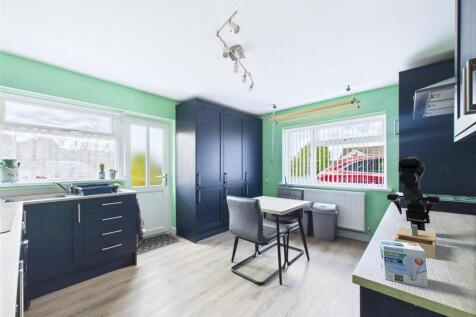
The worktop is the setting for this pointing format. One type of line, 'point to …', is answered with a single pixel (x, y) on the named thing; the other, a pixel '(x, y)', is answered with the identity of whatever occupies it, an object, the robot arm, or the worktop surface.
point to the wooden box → (420, 244)
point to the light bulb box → (403, 262)
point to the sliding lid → (417, 233)
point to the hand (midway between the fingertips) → (413, 216)
